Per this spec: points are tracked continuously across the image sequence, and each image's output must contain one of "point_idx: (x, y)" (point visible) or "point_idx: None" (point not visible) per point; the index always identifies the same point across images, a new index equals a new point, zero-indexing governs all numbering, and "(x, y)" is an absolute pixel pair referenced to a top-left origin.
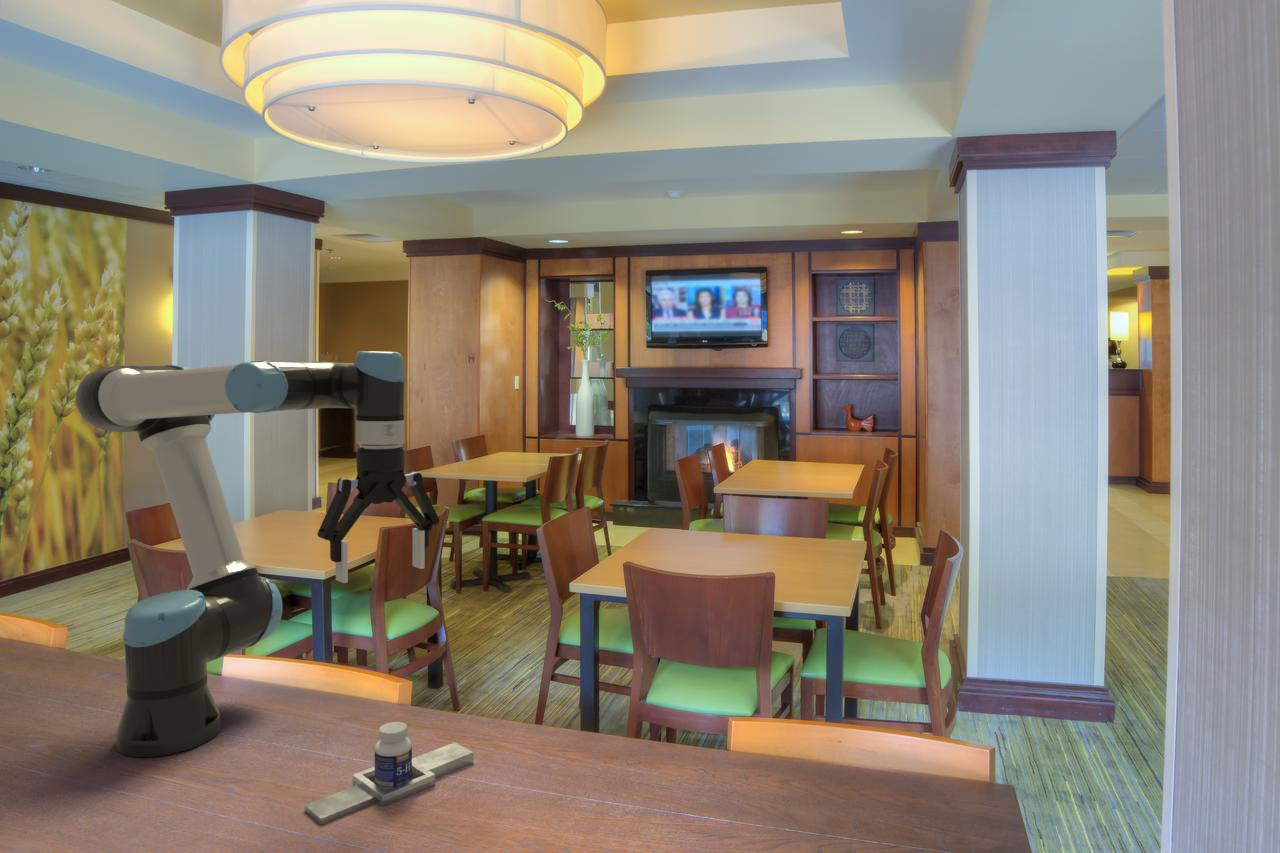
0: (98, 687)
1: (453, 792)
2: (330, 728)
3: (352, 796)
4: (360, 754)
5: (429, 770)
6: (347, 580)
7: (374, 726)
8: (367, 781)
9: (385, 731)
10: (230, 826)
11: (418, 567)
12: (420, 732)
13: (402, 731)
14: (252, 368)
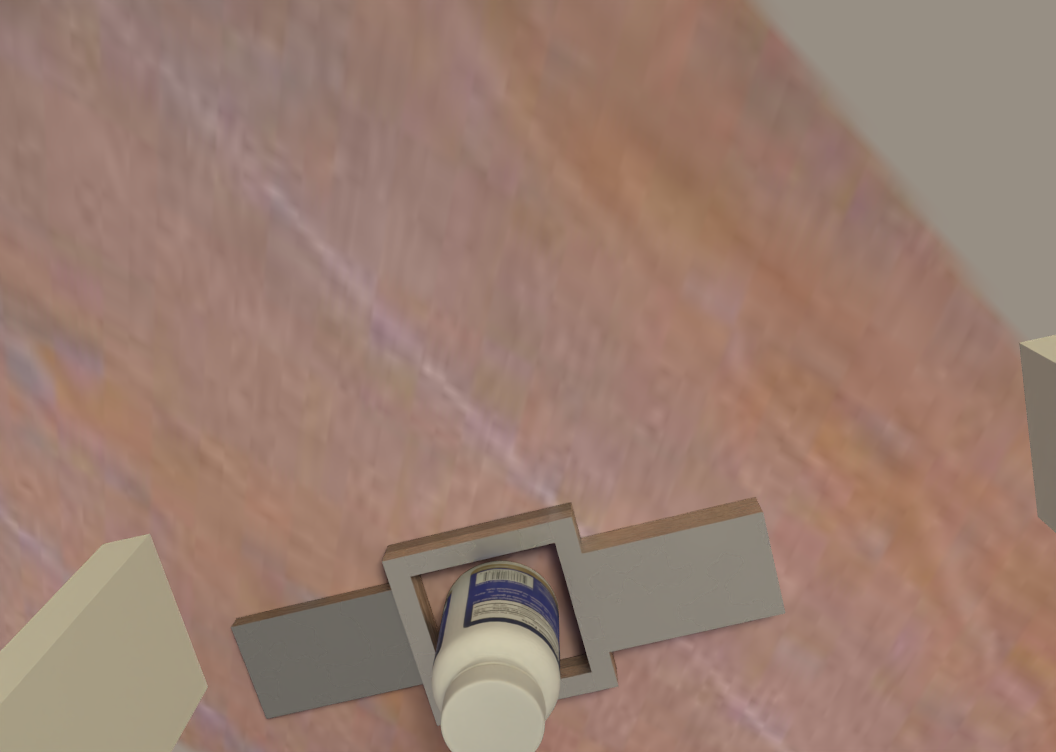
0: None
1: (649, 730)
2: (389, 42)
3: (366, 648)
4: (453, 344)
5: (612, 650)
6: (197, 698)
7: (557, 121)
8: (416, 626)
9: (457, 744)
10: (38, 596)
11: (1037, 474)
12: (703, 277)
13: None
14: None
